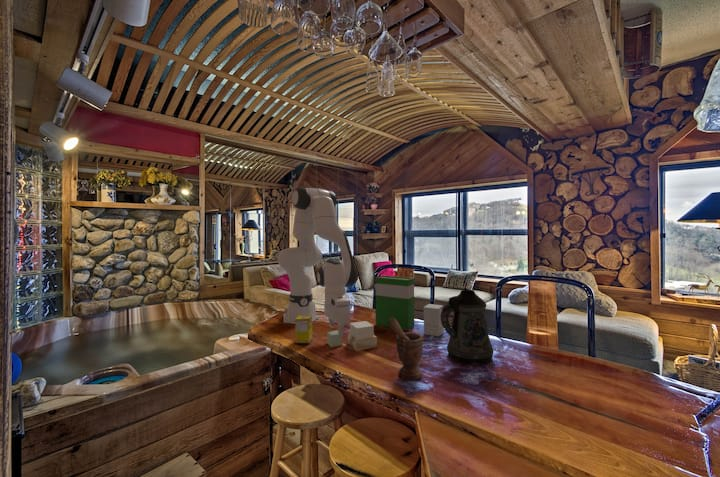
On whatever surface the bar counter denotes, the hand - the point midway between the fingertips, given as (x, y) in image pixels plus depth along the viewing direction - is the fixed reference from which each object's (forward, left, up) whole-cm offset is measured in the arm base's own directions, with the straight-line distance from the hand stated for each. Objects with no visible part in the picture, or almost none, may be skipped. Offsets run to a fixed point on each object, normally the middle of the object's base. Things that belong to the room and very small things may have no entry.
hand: (336, 330), depth 133 cm
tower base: (+5, +9, -6) cm, 13 cm away
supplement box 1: (-9, -12, -6) cm, 16 cm away
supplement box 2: (+6, +45, -6) cm, 46 cm away
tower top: (+5, +9, -2) cm, 11 cm away
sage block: (-1, -1, -6) cm, 6 cm away
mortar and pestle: (+37, +10, -6) cm, 39 cm away
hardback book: (-12, +35, -6) cm, 38 cm away
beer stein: (+34, +39, -6) cm, 53 cm away
